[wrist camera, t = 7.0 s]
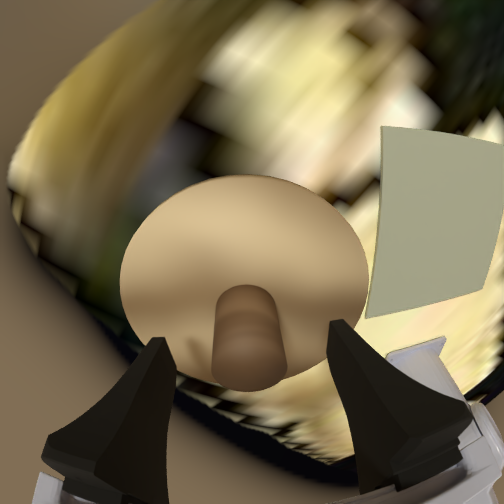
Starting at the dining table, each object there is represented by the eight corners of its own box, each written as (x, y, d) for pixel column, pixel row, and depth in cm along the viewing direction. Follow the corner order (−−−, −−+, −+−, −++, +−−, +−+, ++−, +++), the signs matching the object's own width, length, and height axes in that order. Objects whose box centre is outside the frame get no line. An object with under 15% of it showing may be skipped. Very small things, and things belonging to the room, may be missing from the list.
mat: (480, 287, 22) (482, 289, 21) (364, 316, 22) (366, 318, 21) (507, 146, 15) (510, 146, 15) (380, 125, 15) (382, 125, 15)
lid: (348, 361, 17) (369, 416, 13) (163, 379, 17) (152, 437, 13) (371, 166, 12) (433, 195, 7) (95, 197, 12) (38, 239, 7)
